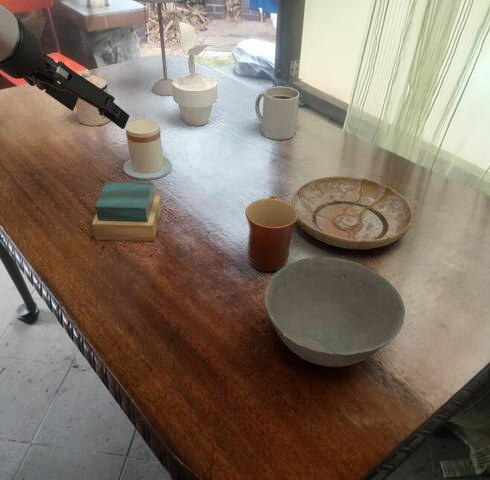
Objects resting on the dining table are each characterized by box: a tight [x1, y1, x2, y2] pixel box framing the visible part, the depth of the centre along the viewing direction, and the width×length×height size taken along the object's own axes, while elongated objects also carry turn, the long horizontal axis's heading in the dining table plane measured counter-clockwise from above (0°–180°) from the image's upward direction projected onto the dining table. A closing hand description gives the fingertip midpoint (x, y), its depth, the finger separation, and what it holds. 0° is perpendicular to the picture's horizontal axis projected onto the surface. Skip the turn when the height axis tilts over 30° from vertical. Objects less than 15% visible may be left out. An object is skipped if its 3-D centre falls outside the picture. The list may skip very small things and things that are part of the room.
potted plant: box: [166, 13, 218, 127], centre depth 113 cm, size 13×12×25 cm
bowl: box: [264, 256, 406, 368], centre depth 65 cm, size 19×19×10 cm
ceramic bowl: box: [290, 175, 414, 250], centre depth 89 cm, size 23×24×5 cm
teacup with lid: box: [75, 70, 112, 127], centre depth 118 cm, size 12×9×12 cm
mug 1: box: [254, 85, 300, 141], centre depth 116 cm, size 11×10×10 cm
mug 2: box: [245, 195, 298, 273], centre depth 79 cm, size 12×9×10 cm
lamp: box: [133, 0, 184, 97], centre depth 125 cm, size 17×17×33 cm
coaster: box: [122, 156, 173, 181], centre depth 104 cm, size 11×11×1 cm
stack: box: [91, 180, 163, 242], centre depth 86 cm, size 11×11×6 cm
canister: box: [125, 118, 164, 173], centre depth 100 cm, size 7×7×9 cm
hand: (99, 112), depth 86 cm, fingers open, 13 cm apart
